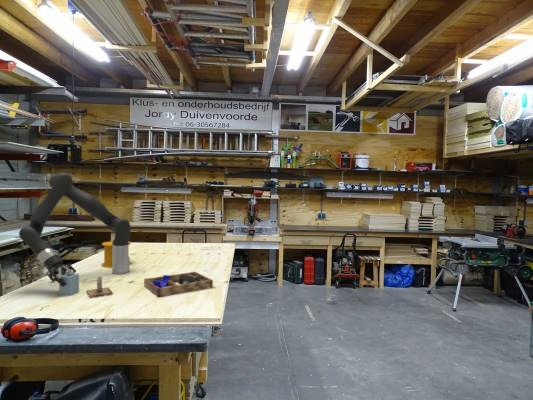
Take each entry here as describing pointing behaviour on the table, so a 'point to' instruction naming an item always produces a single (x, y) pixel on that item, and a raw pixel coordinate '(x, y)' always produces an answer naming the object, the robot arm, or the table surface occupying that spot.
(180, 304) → the table surface
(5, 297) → the table surface
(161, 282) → the cable clip
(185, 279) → the bicycle component
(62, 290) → the collar
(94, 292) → the pin stand
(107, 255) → the spool
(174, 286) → the frame
